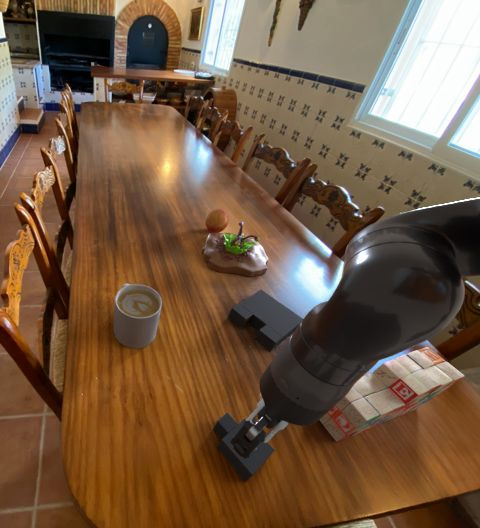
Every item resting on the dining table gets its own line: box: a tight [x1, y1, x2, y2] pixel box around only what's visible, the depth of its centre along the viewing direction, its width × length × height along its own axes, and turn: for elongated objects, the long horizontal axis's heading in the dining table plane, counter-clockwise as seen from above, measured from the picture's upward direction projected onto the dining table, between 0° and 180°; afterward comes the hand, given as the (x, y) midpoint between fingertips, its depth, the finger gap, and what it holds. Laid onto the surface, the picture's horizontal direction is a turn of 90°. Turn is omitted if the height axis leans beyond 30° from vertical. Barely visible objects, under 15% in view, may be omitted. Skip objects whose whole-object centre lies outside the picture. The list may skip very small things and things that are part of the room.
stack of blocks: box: [318, 346, 465, 443], centre depth 54 cm, size 21×6×12 cm, turn 108°
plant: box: [200, 221, 269, 278], centre depth 90 cm, size 20×20×11 cm
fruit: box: [205, 208, 230, 233], centre depth 102 cm, size 8×8×8 cm
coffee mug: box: [112, 283, 163, 349], centre depth 67 cm, size 13×10×10 cm
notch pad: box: [227, 289, 304, 353], centre depth 72 cm, size 12×12×4 cm
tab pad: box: [212, 412, 276, 483], centre depth 50 cm, size 6×8×4 cm
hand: (256, 432), depth 45 cm, fingers open, 8 cm apart
